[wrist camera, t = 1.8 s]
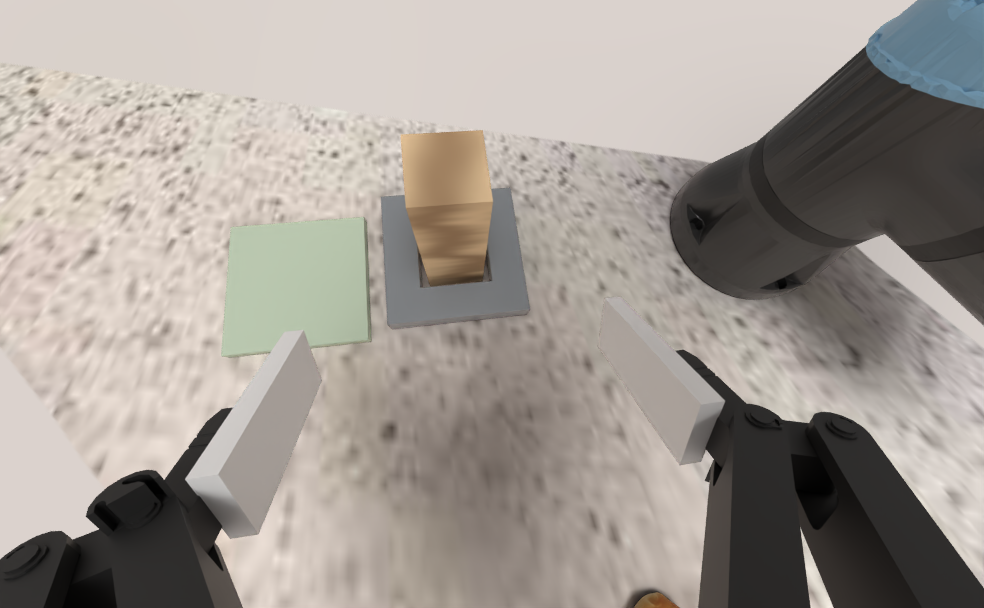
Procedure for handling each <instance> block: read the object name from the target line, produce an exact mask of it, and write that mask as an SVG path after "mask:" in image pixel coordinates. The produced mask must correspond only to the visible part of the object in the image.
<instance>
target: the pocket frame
mask: <svg viewBox="0 0 984 608" xmlns="http://www.w3.org/2000/svg"><path fill="white" fill-rule="evenodd" d="M491 191H492V198H493V205H492V213H491V220H490V228H489V235H488V243H487V250H486V254H487V262H488V269H489V277H490V281H487V282H477V283H467V284H457V285H446V286H436V287H426V288H422V277H421V264H420V252H419V249H418V245H417V242H416V239H415V236H414V233H413V229H412V226H411V223H410V220H409V217H408V213H407V210H406V203H405V195H400V196H386V197H381V207H382V226H383V246H384V265H385V285H386V304H387V324H388V326H389V327H391V328H392V329H399V328H408V327H417V326H426V325H436V324H445V323H454V322H463V321H472V320H481V319H490V318H499V317H509V316H518V315H526V314H527V313H528V311H529V310H530V306H529V300H528V294H527V288H526V282H525V276H524V270H523V263H522V257H521V251H520V245H519V239H518V233H517V226H516V220H515V214H514V208H513V202H512V196H511V189H510V188H499V189H491Z"/></svg>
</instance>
